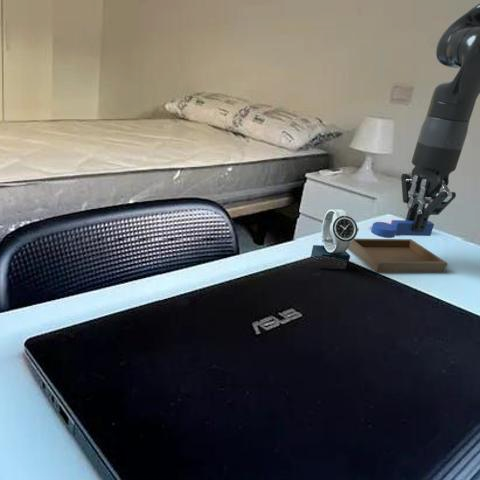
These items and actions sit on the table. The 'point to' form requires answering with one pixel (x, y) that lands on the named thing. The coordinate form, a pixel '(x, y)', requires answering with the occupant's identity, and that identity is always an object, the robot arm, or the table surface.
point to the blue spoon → (399, 229)
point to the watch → (336, 235)
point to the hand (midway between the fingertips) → (413, 229)
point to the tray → (396, 255)
